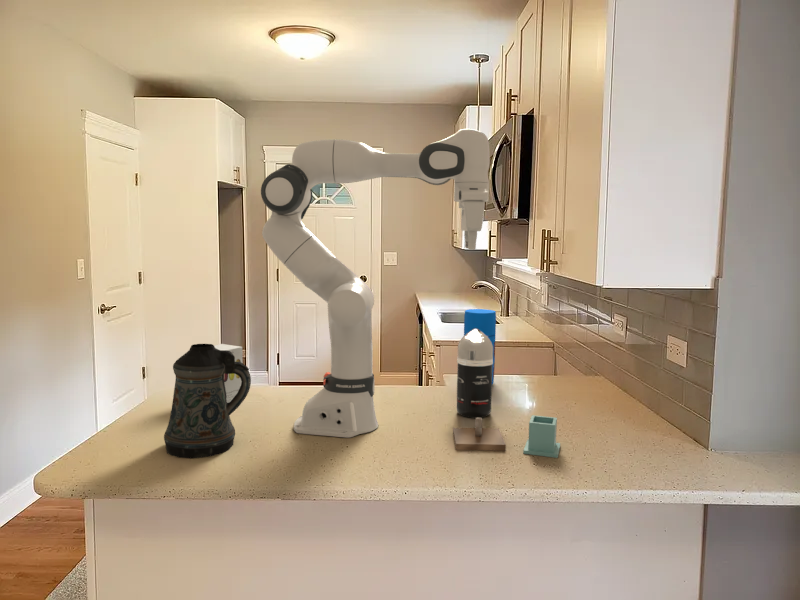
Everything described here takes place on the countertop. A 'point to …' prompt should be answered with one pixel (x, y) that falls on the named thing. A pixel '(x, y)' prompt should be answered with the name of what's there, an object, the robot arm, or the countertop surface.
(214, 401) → the beer stein
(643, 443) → the countertop surface
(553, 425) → the flanged sleeve
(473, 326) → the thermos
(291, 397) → the countertop surface
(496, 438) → the walnut post base
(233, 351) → the supplement box
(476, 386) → the black white cylinder
